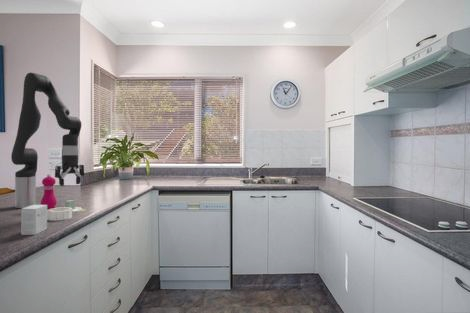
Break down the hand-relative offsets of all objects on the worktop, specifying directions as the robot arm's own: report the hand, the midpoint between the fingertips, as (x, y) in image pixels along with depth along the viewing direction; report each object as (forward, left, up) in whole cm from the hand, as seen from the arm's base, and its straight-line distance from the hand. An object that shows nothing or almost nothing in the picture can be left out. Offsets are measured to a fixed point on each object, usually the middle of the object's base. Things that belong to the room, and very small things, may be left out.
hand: (70, 184), depth 145 cm
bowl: (+10, -11, -15) cm, 21 cm away
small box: (+20, -27, -15) cm, 37 cm away
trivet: (0, 0, -15) cm, 15 cm away
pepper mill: (-12, -4, -15) cm, 20 cm away
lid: (0, 0, -14) cm, 14 cm away
